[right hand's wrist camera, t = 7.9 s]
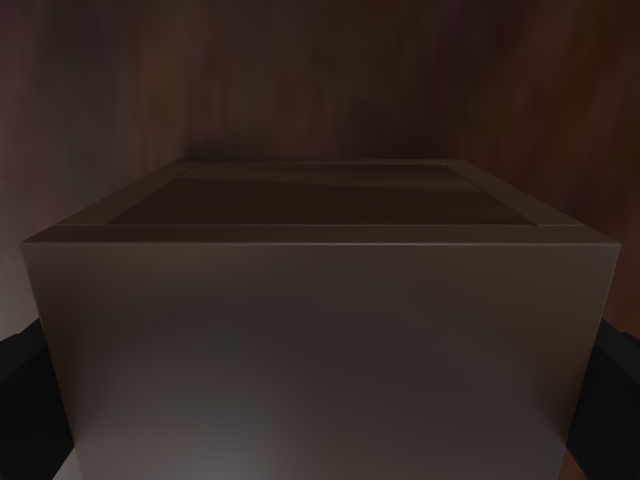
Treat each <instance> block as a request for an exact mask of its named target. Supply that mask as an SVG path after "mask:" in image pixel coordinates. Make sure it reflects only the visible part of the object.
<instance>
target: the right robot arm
mask: <svg viewBox="0 0 640 480" xmlns="http://www.w3.org/2000/svg"><path fill="white" fill-rule="evenodd" d="M566 447H567V449H568V450H569V452H570V453H571V455H572V456H573V458H574V459H575V461H576V462H577V464H578V465H579V467H580V468H581V470H582V471H583V473H584V474H585V475H586V477H587V478H588V480H640V339H638V338H636V337H634V336H632V335H630V334H628V333H626V332H618V331H617V330H616V329H615V328H614V327H612V326H611V325H610V324H609V323H608V322H606V321H605V320H604V319H603V318H601V322H600V325H599V329H598V333H597V336H596V340H595V343H594V347H593V351H592V354H591V358H590V362H589V365H588V369H587V373H586V376H585V380H584V384H583V387H582V391H581V395H580V398H579V402H578V406H577V409H576V413H575V417H574V420H573V424H572V428H571V431H570V435H569V439H568V442H567V446H566ZM73 448H74V444H73V440H72V436H71V433H70V429H69V425H68V421H67V418H66V414H65V410H64V407H63V403H62V399H61V395H60V392H59V388H58V384H57V381H56V377H55V373H54V370H53V366H52V362H51V358H50V355H49V351H48V347H47V344H46V340H45V336H44V332H43V329H42V325H41V321H40V318H38V319H37V320H35V321H34V322H33V323H32V324H31V325H29V326H28V327H27V328H26V329H25V330H23V331H22V332H21V333H20V334H14V335H12V336H10V337H8V338H6V339H4V340H2V341H0V480H52V479H53V478H54V476H55V475H56V473H57V472H58V470H59V469H60V467H61V466H62V464H63V463H64V461H65V460H66V458H67V457H68V456H69V454H70V453H71V451H72V450H73Z"/></svg>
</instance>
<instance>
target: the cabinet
mask: <svg viewBox="0 0 640 480" xmlns="http://www.w3.org/2000/svg"><path fill="white" fill-rule="evenodd" d="M20 247H21V251H22V255H23V258H24V262H25V266H26V269H27V273H28V277H29V281H30V284H31V288H32V292H33V295H34V299H35V303H36V306H37V310H38V314H39V318H40V321H41V325H42V329H43V332H44V336H45V340H46V344H47V347H48V351H49V355H50V358H51V362H52V366H53V370H54V373H55V377H56V381H57V384H58V388H59V392H60V395H61V399H62V403H63V407H64V410H65V414H66V418H67V421H68V425H69V429H70V433H71V436H72V440H73V444H74V447H75V451H76V455H77V458H78V462H79V466H80V470H81V473H82V477H83V480H557V479H558V475H559V472H560V468H561V464H562V461H563V457H564V453H565V450H566V446H567V442H568V439H569V435H570V431H571V428H572V424H573V420H574V417H575V413H576V409H577V406H578V402H579V398H580V395H581V391H582V387H583V384H584V380H585V376H586V373H587V369H588V365H589V362H590V358H591V354H592V351H593V347H594V343H595V340H596V336H597V333H598V329H599V325H600V322H601V318H602V314H603V311H604V307H605V303H606V300H607V296H608V292H609V289H610V285H611V281H612V278H613V274H614V270H615V267H616V263H617V259H618V256H619V252H620V248H621V244H620V243H619V242H617V241H615V240H613V239H611V238H610V237H608V236H606V235H604V234H602V233H600V232H598V231H596V230H594V229H593V228H591V227H589V226H586V225H585V224H583V223H581V222H579V221H577V220H576V219H574V218H572V217H570V216H568V215H566V214H564V213H562V212H560V211H559V210H557V209H555V208H553V207H551V206H549V205H547V204H545V203H544V202H542V201H540V200H538V199H536V198H534V197H532V196H530V195H529V194H527V193H525V192H523V191H521V190H519V189H517V188H515V187H513V186H512V185H510V184H508V183H506V182H504V181H502V180H500V179H498V178H497V177H495V176H493V175H491V174H489V173H487V172H485V171H483V170H481V169H480V168H478V167H476V166H474V165H472V164H470V163H468V162H466V161H465V160H463V159H178V160H176V161H174V162H172V163H170V164H168V165H166V166H165V167H163V168H161V169H159V170H157V171H155V172H153V173H151V174H149V175H147V176H146V177H144V178H142V179H140V180H138V181H136V182H134V183H132V184H130V185H129V186H127V187H125V188H123V189H121V190H119V191H117V192H115V193H113V194H112V195H110V196H108V197H106V198H104V199H102V200H100V201H98V202H96V203H94V204H93V205H91V206H89V207H87V208H85V209H83V210H81V211H79V212H77V213H76V214H74V215H72V216H70V217H68V218H66V219H64V220H62V221H60V222H59V223H57V224H55V225H53V226H51V227H49V228H47V229H45V230H43V231H41V232H39V233H37V234H36V235H34V236H32V237H30V238H28V239H26V240H24V241H22V242H21V243H20Z"/></svg>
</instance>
